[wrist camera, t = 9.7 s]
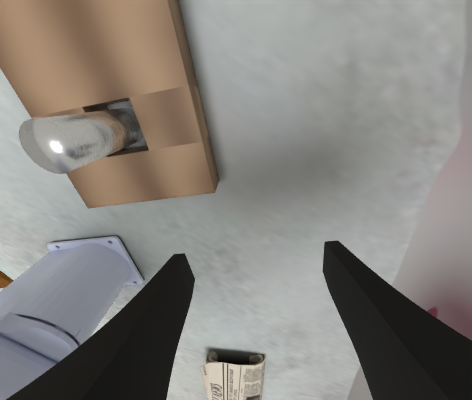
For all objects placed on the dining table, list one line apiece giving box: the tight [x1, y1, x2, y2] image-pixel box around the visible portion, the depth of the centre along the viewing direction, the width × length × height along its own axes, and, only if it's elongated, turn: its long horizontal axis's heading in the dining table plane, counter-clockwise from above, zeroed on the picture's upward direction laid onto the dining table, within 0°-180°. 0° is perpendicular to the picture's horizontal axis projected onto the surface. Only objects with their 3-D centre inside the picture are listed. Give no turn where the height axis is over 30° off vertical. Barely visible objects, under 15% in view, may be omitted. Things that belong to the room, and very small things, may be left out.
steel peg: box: [19, 107, 145, 174], centre depth 13 cm, size 3×3×8 cm
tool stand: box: [0, 0, 219, 208], centre depth 13 cm, size 12×22×2 cm, turn 10°
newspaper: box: [200, 351, 265, 400], centre depth 41 cm, size 35×12×4 cm, turn 2°
